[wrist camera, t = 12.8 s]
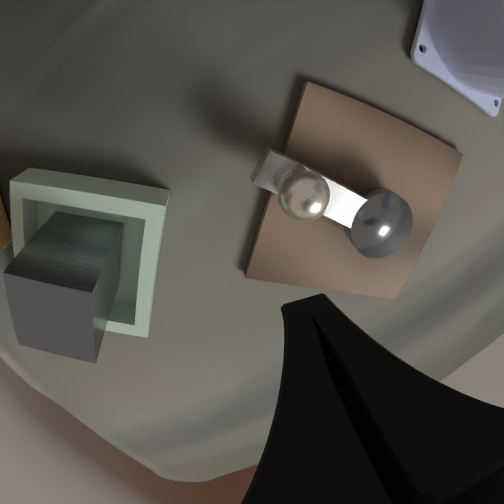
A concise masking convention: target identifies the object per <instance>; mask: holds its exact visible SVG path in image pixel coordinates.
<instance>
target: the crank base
mask: <svg viewBox="0 0 504 504" xmlns="http://www.w3.org/2000/svg"><path fill="white" fill-rule="evenodd" d="M282 153H283V154H285V155H287V156H289V157H291V158H293V159H295V160H297V161H299V162H301V163H303V164H305V165H307V166H309V167H311V168H313V169H315V170H317V171H319V172H321V173H323V174H325V175H326V176H328V177H330V178H332V179H334V180H336V181H338V182H340V183H342V184H343V185H345V186H347V187H349V188H351V189H353V190H354V191H356V192H358V193H360V192H361V191H363V190H365V189H367V188H370V187H375V186H381V187H386V188H388V189H390V190H392V191H393V192H395V193H396V194H397V195H399V196H400V197H402V198H403V199H404V200H405V201H406V202H407V203H408V204H409V206H410V208H411V211H412V215H413V223H412V228H411V232H410V234H409V236H408V238H407V240H406V241H405V243H404V244H403V245H402V246H401V247H400V248H399V249H398V250H397V251H396V252H394V253H393V254H391V255H389V256H386V257H384V258H378V259H372V258H368V257H365V256H363V255H362V254H360V253H359V252H358V250H357V249H356V248H355V247H354V246H353V244H352V243H351V242H350V241H349V239H348V238H347V236H346V234H345V231H344V226H343V224H341V223H339V222H337V221H335V220H333V219H331V218H329V217H326V216H324V215H322V216H321V217H319V218H318V219H316V220H313V221H309V222H300V221H296V220H294V219H292V218H290V217H289V216H287V215H286V214H285V212H284V211H283V210H282V208H281V206H280V204H279V200H278V194H276V193H273V192H271V191H270V192H269V195H268V198H267V202H266V205H265V208H264V211H263V214H262V218H261V221H260V224H259V227H258V230H257V233H256V237H255V240H254V243H253V246H252V249H251V252H250V256H249V259H248V262H247V265H246V268H245V271H244V275H245V278H250V279H256V280H263V281H269V282H276V283H282V284H289V285H296V286H303V287H309V288H316V289H323V290H330V291H337V292H345V293H352V294H359V295H367V296H374V297H382V298H390V299H396V298H397V296H398V294H399V292H400V291H401V289H402V287H403V285H404V283H405V281H406V280H407V278H408V276H409V274H410V272H411V270H412V268H413V266H414V265H415V263H416V261H417V259H418V257H419V255H420V253H421V251H422V249H423V247H424V245H425V243H426V241H427V239H428V237H429V234H430V232H431V230H432V228H433V226H434V224H435V222H436V219H437V217H438V215H439V213H440V210H441V208H442V206H443V204H444V201H445V199H446V197H447V194H448V192H449V189H450V187H451V185H452V182H453V180H454V177H455V174H456V172H457V169H458V167H459V164H460V161H461V159H462V156H463V154H462V153H460V152H458V151H457V150H455V149H453V148H452V147H450V146H448V145H447V144H445V143H443V142H441V141H439V140H438V139H436V138H434V137H432V136H430V135H429V134H427V133H425V132H423V131H421V130H419V129H417V128H415V127H413V126H411V125H409V124H407V123H405V122H403V121H401V120H399V119H397V118H395V117H393V116H391V115H389V114H387V113H385V112H382V111H380V110H378V109H376V108H374V107H371V106H369V105H367V104H364V103H362V102H360V101H357V100H355V99H352V98H350V97H348V96H345V95H343V94H340V93H337V92H335V91H332V90H330V89H327V88H324V87H322V86H319V85H316V84H313V83H310V82H307V81H304V85H303V88H302V91H301V94H300V97H299V100H298V104H297V107H296V110H295V113H294V116H293V119H292V123H291V126H290V129H289V132H288V135H287V138H286V142H285V145H284V148H283V151H282Z"/></svg>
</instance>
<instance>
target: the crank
mask: <svg viewBox="0 0 504 504" xmlns="http://www.w3.org/2000/svg"><path fill="white" fill-rule="evenodd" d="M250 178H251V180H252V182H253V184H255V185H257V186H260V187H262V188H264V189H267V190H269V191H271V192H273V193H276V194H278V200H279V204H280V206H281V208H282V210H283V211H284V212H285V214H286V215H287V216H289V217H290V218H292V219H294V220H296V221H300V222H309V221H313V220H316V219H318V218H319V217H321V216H322V215H324V216H326V217H329V218H331V219H333V220H335V221H337V222H339V223H341V224H343V226H344V231H345V234H346V236H347V238H348V239H349V241H350V242H351V243H352V244H353V246H354V247H355V248H356V249H357V250H358V252H359V253H360V254H362V255H363V256H365V257H368V258H372V259H378V258H384V257H386V256H389V255H391V254H393V253H394V252H396V251H397V250H398V249H399V248H400V247H401V246H402V245H403V244H404V243H405V241H406V240H407V238H408V236H409V234H410V232H411V228H412V223H413V215H412V211H411V208H410V206H409V204H408V203H407V202H406V201H405V200H404V199H403V198H402V197H400V196H399V195H397V194H396V193H395V192H393V191H392V190H390V189H388V188H386V187H381V186H375V187H370V188H367V189H365V190H363V191H361V192H360V193H358V192H356V191H354V190H353V189H351V188H349V187H347V186H345V185H343V184H342V183H340V182H338V181H336V180H334V179H332V178H330V177H328V176H326V175H325V174H323V173H321V172H319V171H317V170H315V169H313V168H311V167H309V166H307V165H305V164H303V163H301V162H299V161H297V160H295V159H293V158H291V157H289V156H287V155H285V154H283V153H281V152H278V151H276V150H274V149H272V148H270V147H268V146H266V147H265V149H264V151H263V153H262V155H261V157H260V159H259V161H258V163H257V165H256V167H255V169H254V170H253V172H252V174H251V176H250Z"/></svg>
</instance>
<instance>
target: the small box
mask: <svg viewBox="0 0 504 504" xmlns="http://www.w3.org/2000/svg"><path fill="white" fill-rule="evenodd" d="M11 241H12V229H11V226H10V223H9V221H8V218H7V215H6V212H5V209H4V206H3V202H2V199H1V195H0V253H1V252H2V250H3V249H4V248H5V247H6V246H7V245H8V244H9V243H10V242H11Z"/></svg>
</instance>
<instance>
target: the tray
mask: <svg viewBox="0 0 504 504" xmlns="http://www.w3.org/2000/svg"><path fill="white" fill-rule="evenodd" d="M169 194H170V190H167V189H162V188H156V187H151V186H145V185H139V184H133V183H128V182H122V181H116V180H110V179H103V178H97V177H91V176H84V175H78V174H71V173H64V172H58V171H50V170H43V169H36V168H28V169H27V170H25V171H24V172H22V173H21V174H19V175H18V176H16V177H15V178H13V179H12V180H10V212H11V229H12V241H13V252H14V258H15V257H16V256H17V254H18V253H19V252H20V251H21V250H22V248H23V247H24V246H25V245H26V244H27V242H28V241H29V240H30V239H31V238H32V237H33V235H34V234H35V233H36V232H37V231H38V230H39V229H40V228H41V226H42V225H43V224H44V223H45V222H46V221H47V220H48V219H49V218H50V217H51V215H52V214H53V213H54V212H55V211H59V212H64V213H70V214H76V215H82V216H87V217H93V218H99V219H104V220H110V221H115V222H121V223H124V227H123V237H122V247H121V260H120V274H119V286H118V289H117V293H116V296H115V299H114V302H113V305H112V308H111V312H110V315H109V318H108V322H107V325H106V328H105V330H107V331H113V332H118V333H123V334H129V335H135V336H141V337H146V338H148V331H149V325H150V318H151V312H152V303H153V295H154V287H155V280H156V273H157V266H158V259H159V252H160V246H161V240H162V234H163V228H164V222H165V216H166V211H167V205H168V200H169Z"/></svg>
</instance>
